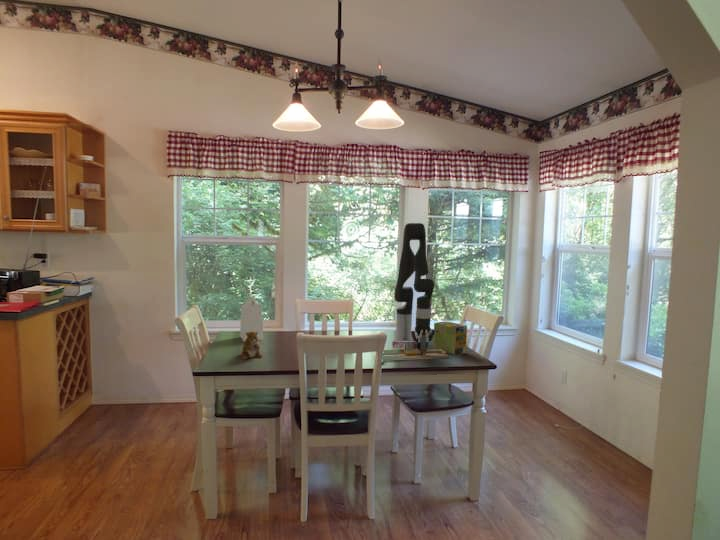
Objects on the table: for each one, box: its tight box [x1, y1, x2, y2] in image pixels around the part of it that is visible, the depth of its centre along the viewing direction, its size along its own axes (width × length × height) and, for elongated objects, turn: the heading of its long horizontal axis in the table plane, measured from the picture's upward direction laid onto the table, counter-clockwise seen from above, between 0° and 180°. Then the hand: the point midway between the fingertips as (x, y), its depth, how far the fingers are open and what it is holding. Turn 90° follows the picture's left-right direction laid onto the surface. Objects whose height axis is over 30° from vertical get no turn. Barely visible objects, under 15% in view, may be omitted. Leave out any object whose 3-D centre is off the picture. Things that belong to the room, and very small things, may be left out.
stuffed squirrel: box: [241, 332, 263, 360], centre depth 230 cm, size 10×14×13 cm
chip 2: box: [411, 349, 421, 355], centre depth 234 cm, size 4×4×3 cm
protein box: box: [432, 320, 468, 355], centre depth 247 cm, size 10×15×16 cm
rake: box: [419, 335, 426, 355], centre depth 234 cm, size 6×3×11 cm, turn 13°
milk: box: [239, 294, 264, 342], centre depth 266 cm, size 12×12×26 cm
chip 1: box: [404, 349, 414, 356], centre depth 233 cm, size 4×4×3 cm
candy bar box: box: [392, 339, 429, 351], centre depth 244 cm, size 11×5×16 cm
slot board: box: [397, 348, 449, 361], centre depth 235 cm, size 13×24×3 cm, turn 103°
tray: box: [382, 348, 405, 364], centre depth 231 cm, size 12×12×4 cm
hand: (422, 348), depth 234 cm, fingers closed on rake, 3 cm apart
